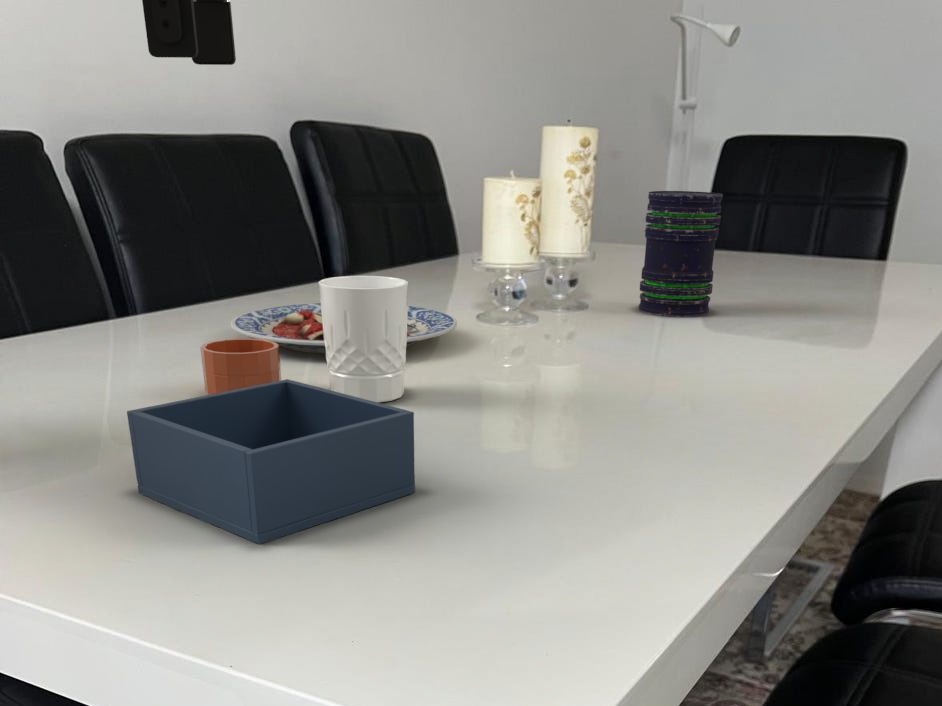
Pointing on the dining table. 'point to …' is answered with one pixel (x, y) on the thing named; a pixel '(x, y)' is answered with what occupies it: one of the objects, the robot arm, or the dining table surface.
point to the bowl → (239, 364)
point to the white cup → (365, 335)
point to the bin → (273, 456)
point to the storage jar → (679, 253)
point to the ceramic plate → (305, 327)
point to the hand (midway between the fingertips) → (195, 60)
